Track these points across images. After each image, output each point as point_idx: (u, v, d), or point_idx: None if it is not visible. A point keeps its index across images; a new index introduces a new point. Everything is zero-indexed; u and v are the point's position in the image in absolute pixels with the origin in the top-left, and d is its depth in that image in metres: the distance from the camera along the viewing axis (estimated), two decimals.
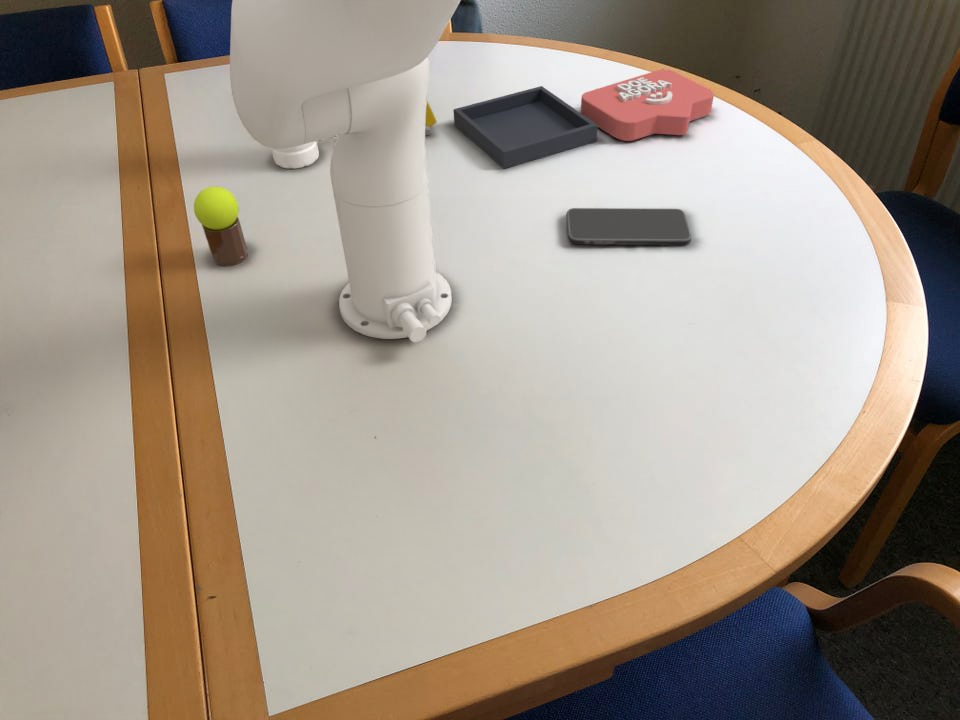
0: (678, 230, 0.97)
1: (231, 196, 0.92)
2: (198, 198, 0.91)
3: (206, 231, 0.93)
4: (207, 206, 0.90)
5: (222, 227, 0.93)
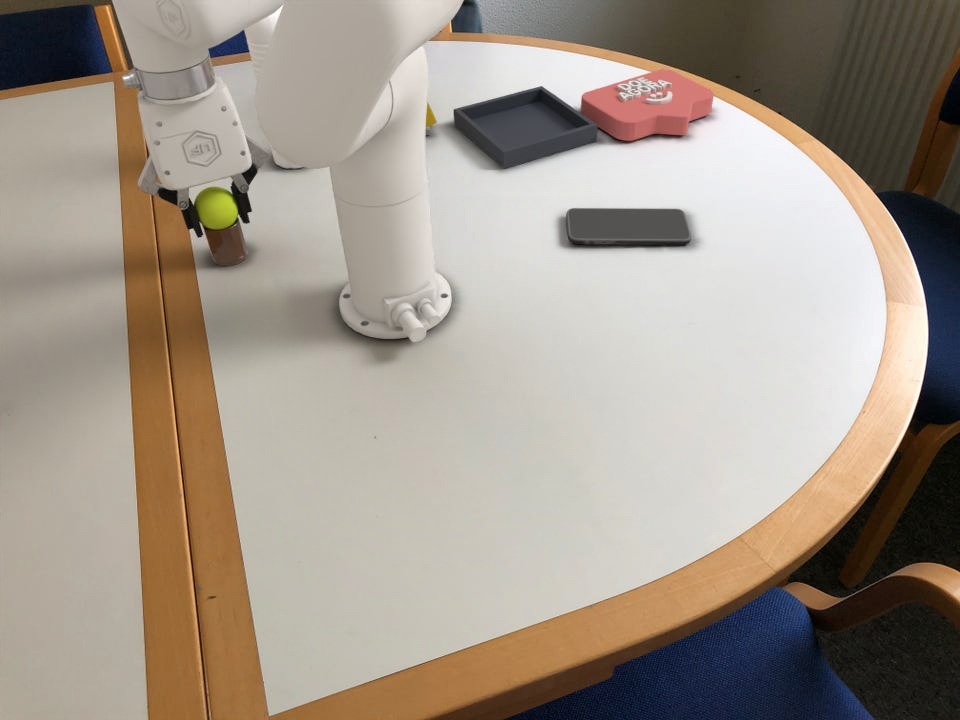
0: (678, 230, 0.97)
1: (231, 196, 0.92)
2: (198, 198, 0.91)
3: (206, 231, 0.93)
4: (207, 206, 0.90)
5: (222, 227, 0.93)
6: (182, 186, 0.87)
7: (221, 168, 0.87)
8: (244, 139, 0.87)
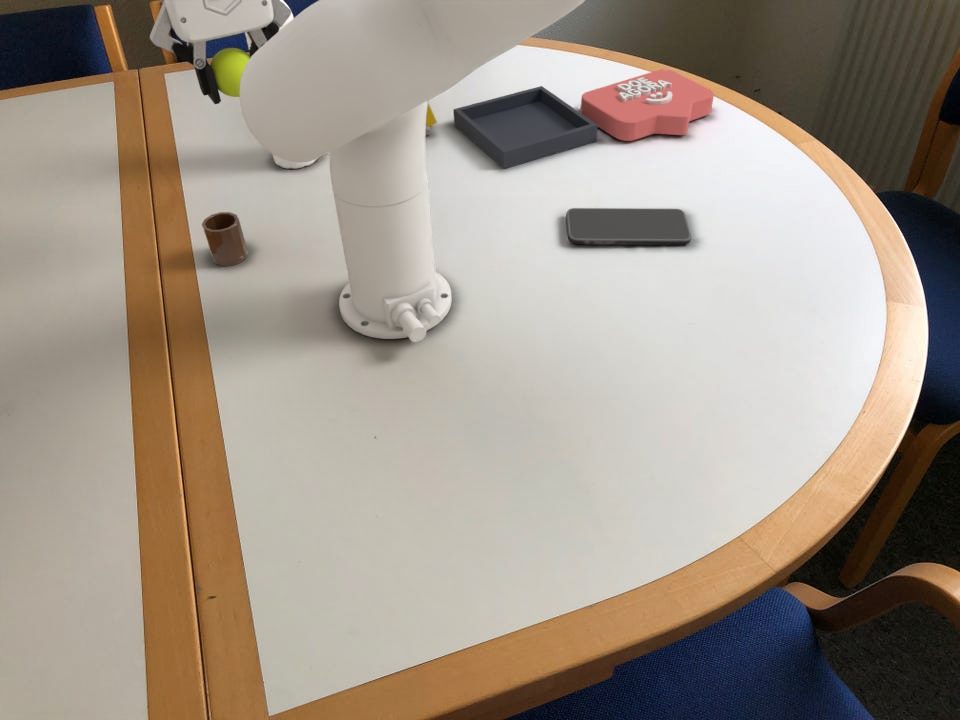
0: (678, 230, 0.97)
1: None
2: (215, 59, 0.84)
3: (206, 231, 0.93)
4: (225, 66, 0.83)
5: None
6: (199, 37, 0.79)
7: (241, 19, 0.80)
8: None
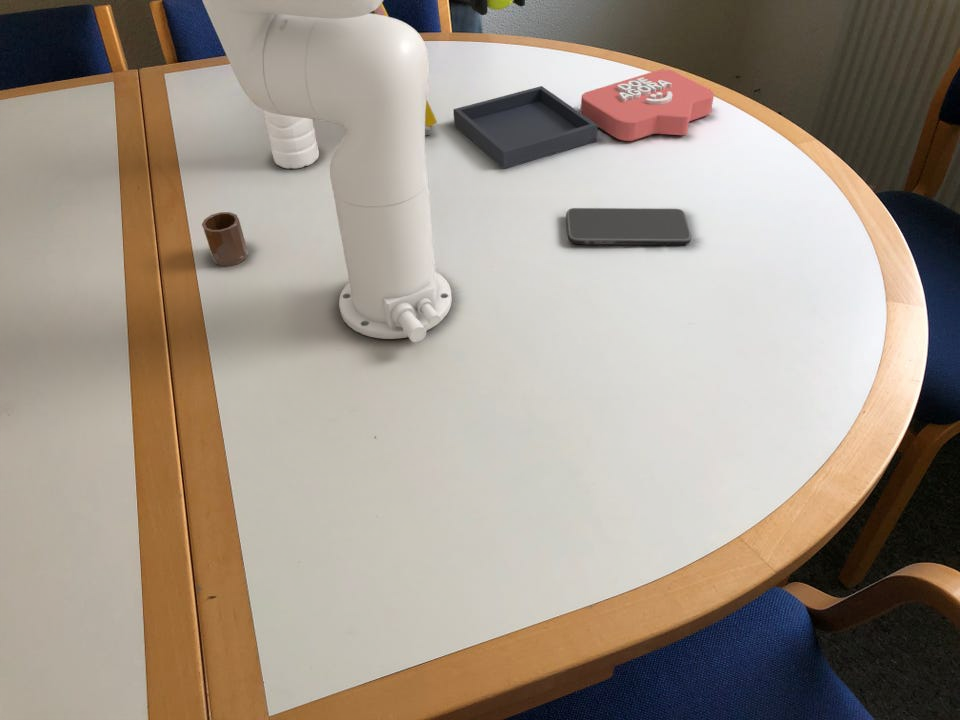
0: (678, 230, 0.97)
1: None
2: None
3: (206, 231, 0.93)
4: None
5: (504, 5, 1.02)
6: None
7: None
8: None
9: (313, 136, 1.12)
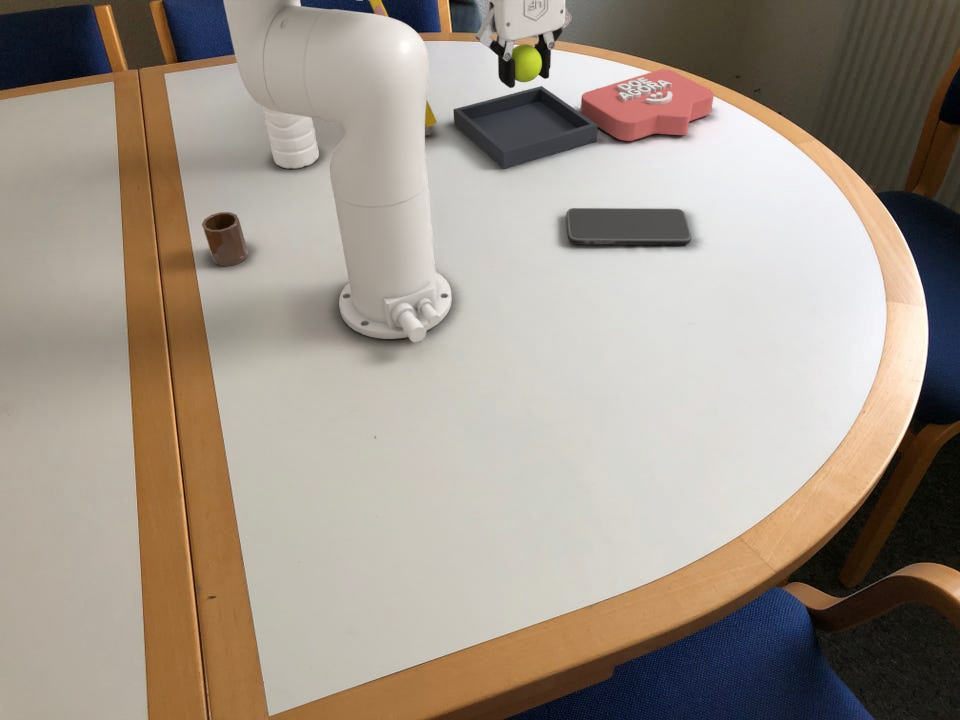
0: (678, 230, 0.97)
1: (538, 52, 1.11)
2: (515, 53, 1.10)
3: (206, 231, 0.93)
4: (524, 58, 1.09)
5: (530, 78, 1.12)
6: (515, 37, 1.05)
7: (544, 23, 1.06)
8: None
9: (313, 136, 1.12)
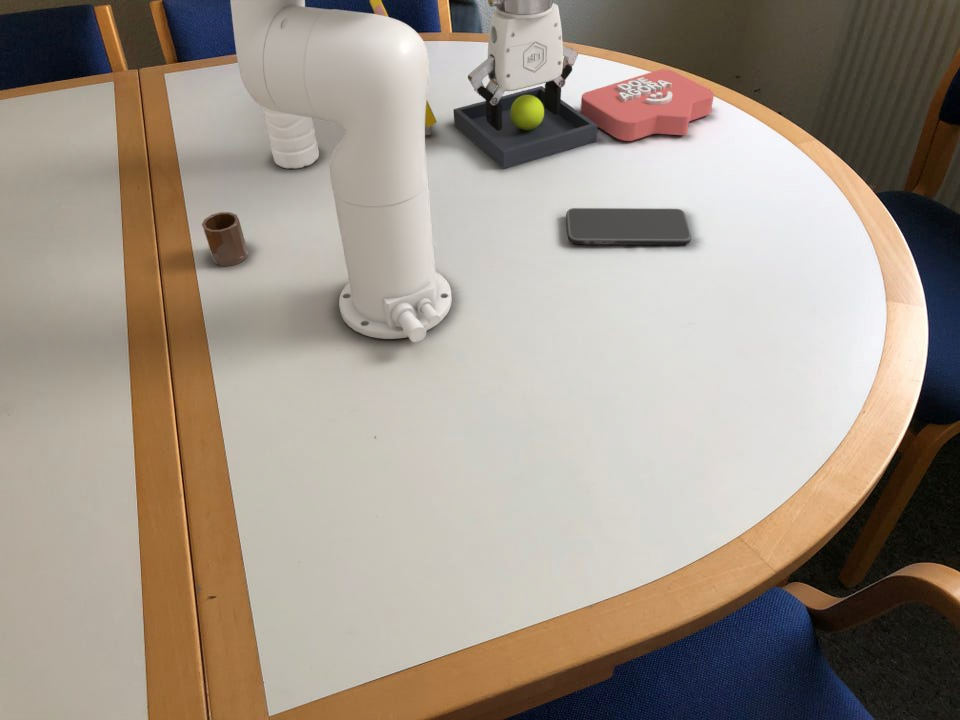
0: (678, 230, 0.97)
1: (542, 105, 1.16)
2: (521, 101, 1.15)
3: (206, 231, 0.93)
4: (529, 108, 1.14)
5: (530, 128, 1.17)
6: (514, 88, 1.10)
7: (542, 74, 1.11)
8: (562, 51, 1.10)
9: (313, 136, 1.12)
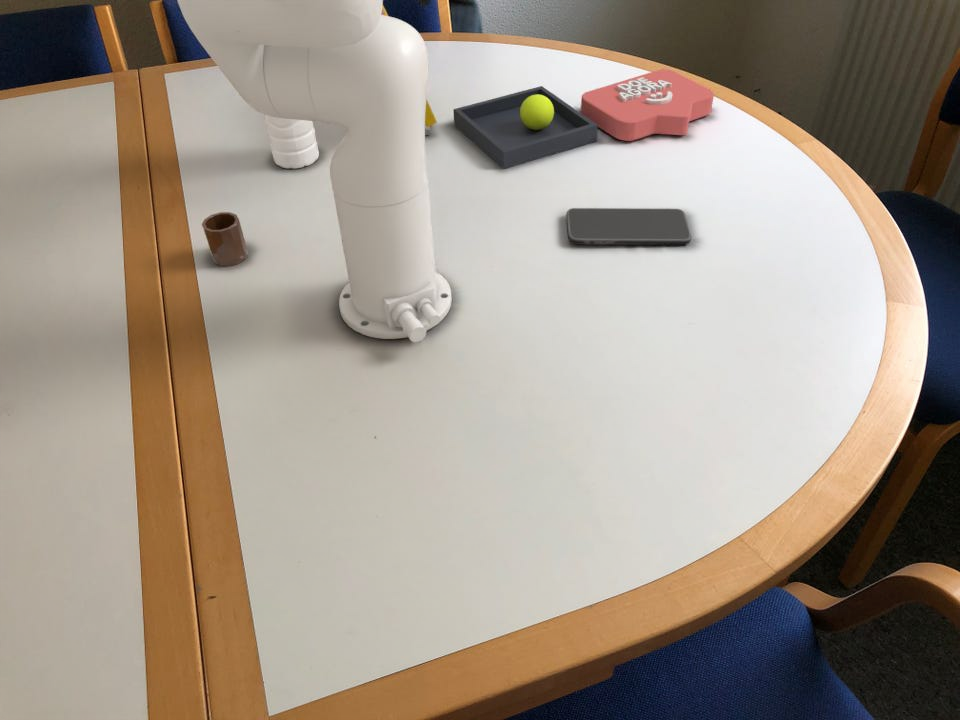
0: (678, 230, 0.97)
1: None
2: (540, 99, 1.15)
3: (206, 231, 0.93)
4: (545, 110, 1.15)
5: (534, 128, 1.17)
6: None
7: None
8: None
9: (313, 136, 1.12)
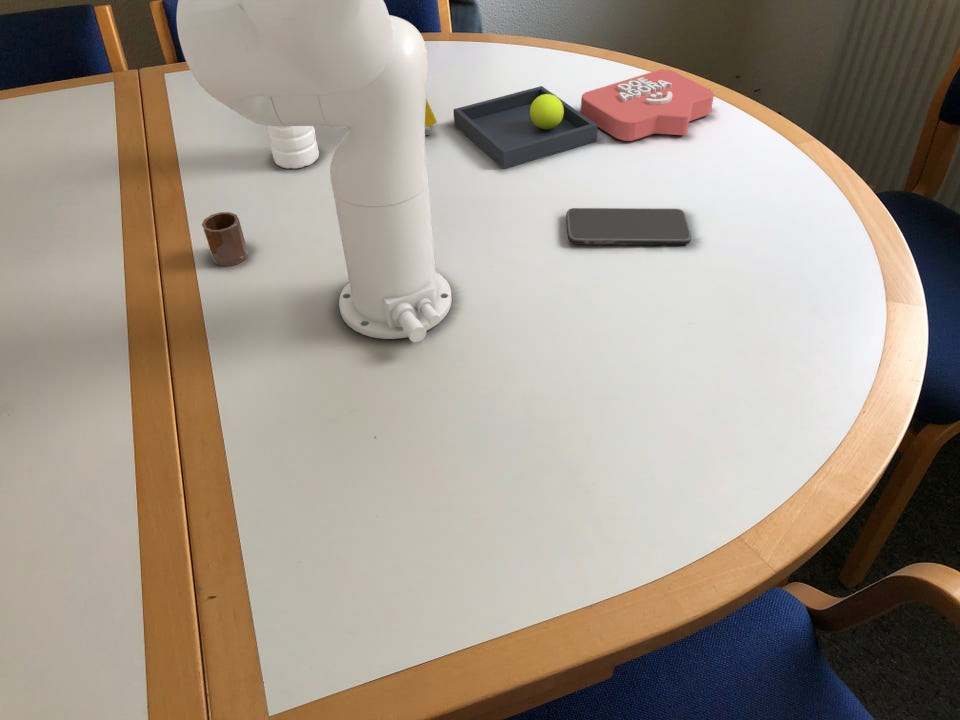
0: (678, 230, 0.97)
1: None
2: (558, 103, 1.15)
3: (206, 231, 0.93)
4: (558, 114, 1.15)
5: (539, 124, 1.16)
6: None
7: None
8: None
9: (313, 136, 1.12)
